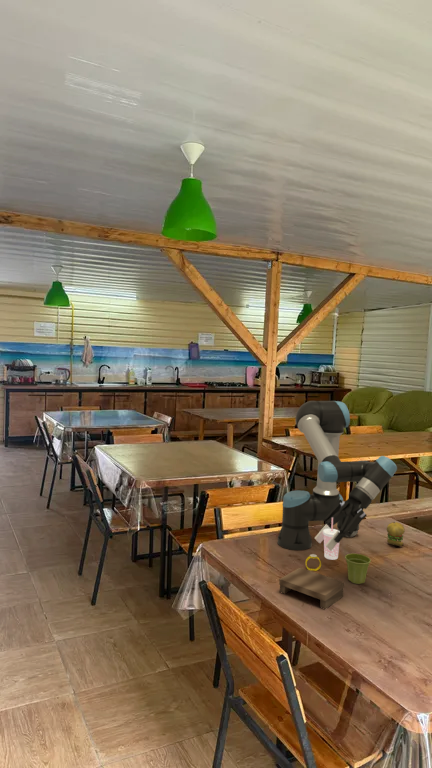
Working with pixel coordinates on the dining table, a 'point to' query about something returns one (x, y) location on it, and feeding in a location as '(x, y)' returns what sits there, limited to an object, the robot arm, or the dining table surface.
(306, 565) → the watch
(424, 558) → the dining table surface
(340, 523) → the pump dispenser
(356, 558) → the plant pot
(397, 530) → the hamburger
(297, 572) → the walnut shelf
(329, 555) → the beverage cup
